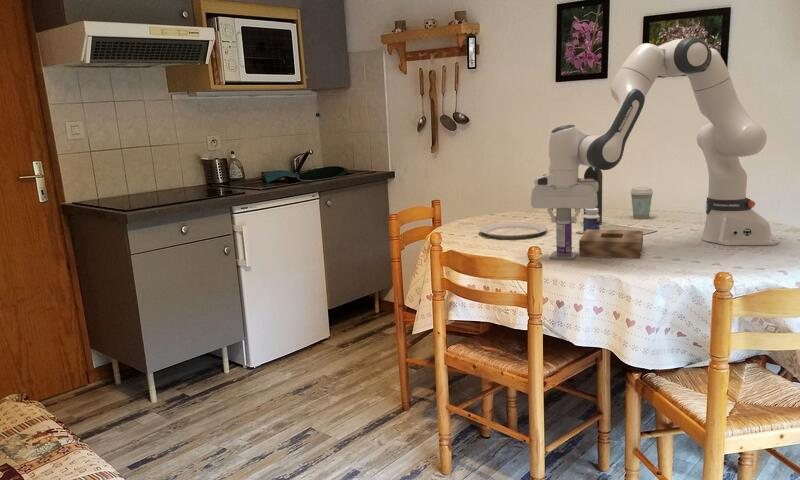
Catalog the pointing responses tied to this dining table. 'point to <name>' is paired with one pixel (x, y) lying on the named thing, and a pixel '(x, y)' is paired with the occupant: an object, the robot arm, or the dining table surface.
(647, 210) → the coffee cup
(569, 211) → the container
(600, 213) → the wine bottle
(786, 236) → the dining table surface
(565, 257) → the coaster
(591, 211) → the pill bottle
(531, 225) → the plate
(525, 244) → the dining table surface
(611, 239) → the socket block
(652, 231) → the dining table surface
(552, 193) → the robot arm
